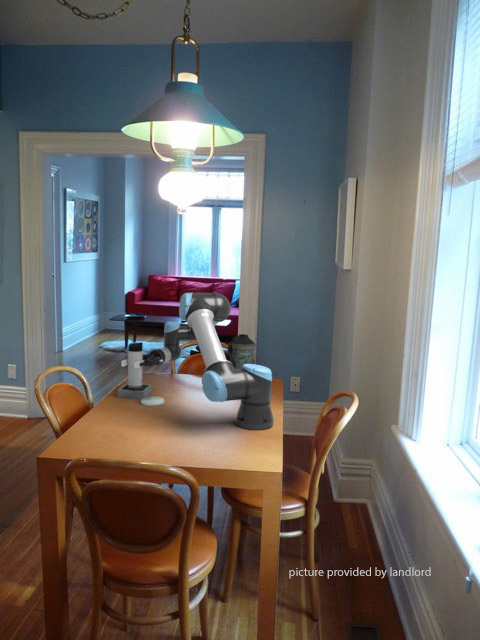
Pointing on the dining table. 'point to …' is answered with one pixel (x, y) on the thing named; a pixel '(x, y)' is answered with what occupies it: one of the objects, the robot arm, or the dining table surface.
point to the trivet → (152, 401)
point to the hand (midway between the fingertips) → (128, 364)
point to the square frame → (134, 391)
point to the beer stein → (241, 351)
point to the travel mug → (133, 356)
